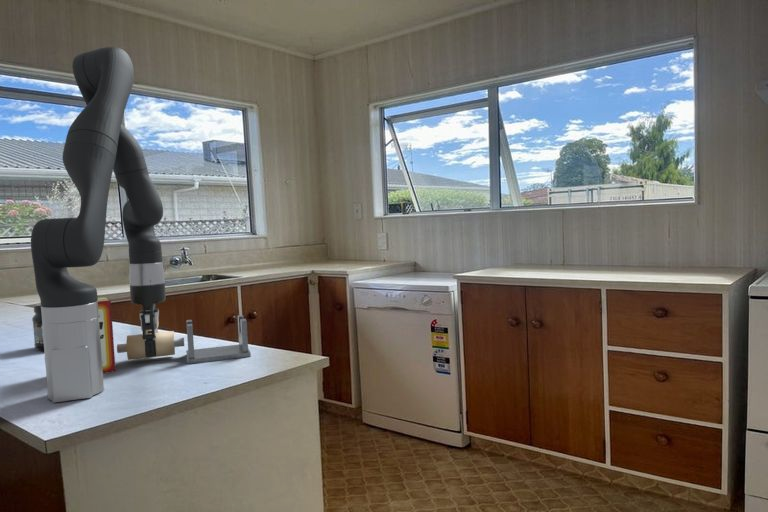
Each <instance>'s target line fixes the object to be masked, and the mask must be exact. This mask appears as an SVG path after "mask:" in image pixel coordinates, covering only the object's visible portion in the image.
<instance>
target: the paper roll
mask: <svg viewBox="0 0 768 512" xmlns="http://www.w3.org/2000/svg"><path fill="white" fill-rule="evenodd" d="M149 334H152V333H149ZM155 335H156V340H155V343H156V356H154V357H153V358H157V357H166V356H175V355H176V348H179V347H185V337H179V338H178V337H175V331H174V330H170V331H158V333H155ZM142 336H143V333H141V334H140V333H139V334H138V333H137V334H130V335H126V342H125V343H118V344H117V345H116V352H117V354H122V353H123V354H124V353H126V356H127V357H126V358H127V360H129V361H130V360H131V361H132V360H140V359H148V358H149V359H150V358H151V357H146V354H145V341H144V340H143V338H142Z"/></svg>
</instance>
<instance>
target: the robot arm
mask: <svg viewBox="0 0 768 512" xmlns="http://www.w3.org/2000/svg"><path fill="white" fill-rule="evenodd" d="M72 72H73V77H74V79H75V82H76V85H77V87H78V90H79V92H80V94H81V96H82V97H83V100H84V102H85V104H86V105H85V107H84V108H83V109H82V110H81V111H80V113H79V114H78V115H77V116H76V118H74V120H73V122H72V123H71V124H70V127H69V128H68V131H67V133H66V137H65V142H64V146H63V150H62V151H63V152H62V162H63V167H64V168H65V171H66V172H67V175H68V176H69V178H70V180H71V181H72V183H73V184H74V186H75V188H76V189H77V191H78V194H79V197H80V208H79V212H78V215H77V217H58V218H44V219H40V220H38V221H37V222H36V223H35V224H34V226H33V228H32V231H31V233H30V234H31V236H30V252H31V258H32V265H33V273H34V281H35V288H36V292H37V294H38V296H39V299H40V301H39V302H40V303H41V313H42V327H43V340H44V351H43V353H44V363H45V375H46V387H47V388H46V389H47V398H48V400H49V401H52V403H60V402H67V401H68V402H69V401H75V400H82V399H89V398H92V397H93V396H96V395H97V394H100V393H101V392H103V391H104V389H105V387H104V385H105V383H104V373H103V369H102V356H101V342H100V328H99V313H98V298H99V297H98V291H97V288H96V287H95V286H93V285H91V284H88V283H85V282H82V281H79V280H77V279H75V278H74V277H73V276H71V275H70V274H69V271H68V268H81V267H82V268H83V267H85V268H86V267H92V266H94V265H96V264H98V262H99V261H100V259H101V257H102V254H103V251H104V245H105V237H106V224H107V211H108V210H107V209H108V201H109V194H110V193H109V192H110V186H111V181H112V176H113V174H114V177H115V180H116V182H117V184H118V186H119V187H121V188H122V189H123V190H124V192H125V195H126V197H127V199H128V200H127V201H126V202H125V203H124V204H123V207H122V211H121V212H122V224H123V230H124V233H125V236H126V240H127V243H128V259H129V271H128V277H129V278H128V279H129V280H128V281H129V293H130V296H129V297H130V303H131V304H132V305H141V306H142V310H140V311H139V312H138V313H139V320H140V329H141V332H142V334H143V336H142V338H143V340H144V341H145V354H146V357H150V358H155V357H154V356H156V343H155V340H156V335H155V333H159V331H158V330H159V327H160V326H159V324H160V323H159V316H160V310H159V308H157V306H156V304H160V303H163V302H165V301H166V299H167V297H166V283H165V282H166V281H165V280H166V279H165V270H164V264H163V252H162V244H161V243H162V242H161V241H160V239H159V238H157V236H156V232H155V226H156V225H158V224H159V223H160V222H161V221H162V219H163V215H164V208H163V207H164V205H163V203H162V199H161V197H160V195H159V193H158V190H157V189H156V186H155V184H154V183H153V181H152V179H151V177H150V175H149V170H148V166H147V162H146V159H145V155H144V153H143V150H142V147H141V145H140V143H139V141H137V139H136V137H135V136H134V135H133V134H132V133H131V132H130V131H129V130H128V129H127V127H125V126H124V125H123V124H122V123H123V120H124V119H123V118H124V115H125V110H126V107H127V105H128V101H129V98H130V95H131V93H132V89H133V85H134V81H135V71H134V65H133V62H132V59H131V57H130V55H129V54H128V53H127V51H125V50H124V49H122V48H121V47H118V46H105V47H101V48H100V47H99V48H97V49H94V50H90V51H86V52H83V53H79V54H77V55H76V56H75V57H73V61H72ZM149 333H152V334H149Z"/></svg>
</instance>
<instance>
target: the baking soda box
mask: <svg viewBox="0 0 768 512" xmlns="http://www.w3.org/2000/svg"><path fill="white" fill-rule="evenodd" d="M98 313H99V328H100V342H101V356H102V369H103V374H106V372H108V373H113V372H112V371H114V372H116V371H117V370H116V359H115V358H116V356H115V343H114V341H115V340H114V329H113V316H112V314H113V313H112V302H111V299H110V297H108V296H107V297H98Z"/></svg>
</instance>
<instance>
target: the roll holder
mask: <svg viewBox="0 0 768 512" xmlns="http://www.w3.org/2000/svg"><path fill="white" fill-rule="evenodd" d="M237 329H238V331H237V333H238V344H233V345H232V344H231V345H224V346H223V345H222V346H214V347H205V348H197V349H196V348H195V344H194V341H195V340H194V332H193V331H194V327H193V320H192V319H187V320H186V337H187V339H186V340H187V350H186V361H187V363H186V364H187V365H192V364H199V363H208V362H209V363H210V362H218V361H224V360H226V361H227V360H233V359H241V358H248V357H251V356H252V355H251V354H252V353H251V351H250V349H249V341H248V339H249V338H248V322H247V319H246V318H244V315H243V314H240V315H239V314H238V315H237Z"/></svg>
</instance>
